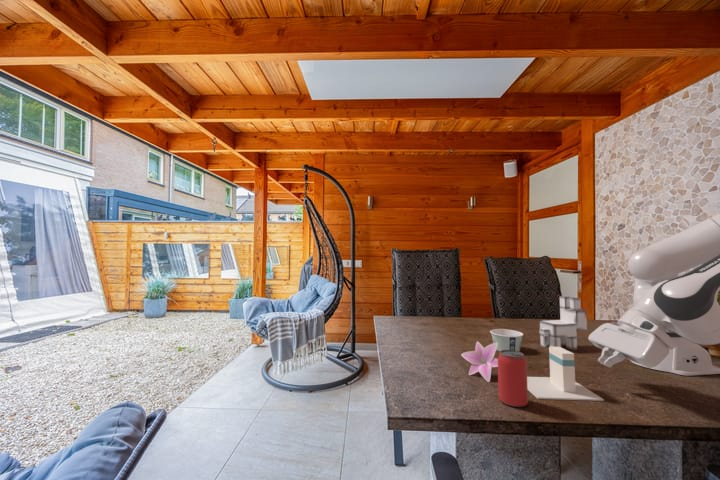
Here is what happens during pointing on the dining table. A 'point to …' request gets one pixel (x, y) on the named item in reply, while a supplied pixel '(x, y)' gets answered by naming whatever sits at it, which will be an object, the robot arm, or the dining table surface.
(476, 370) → the lily
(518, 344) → the food container
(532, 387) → the mat
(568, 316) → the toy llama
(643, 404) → the dining table surface
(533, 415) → the dining table surface
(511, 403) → the beer can
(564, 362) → the card box
